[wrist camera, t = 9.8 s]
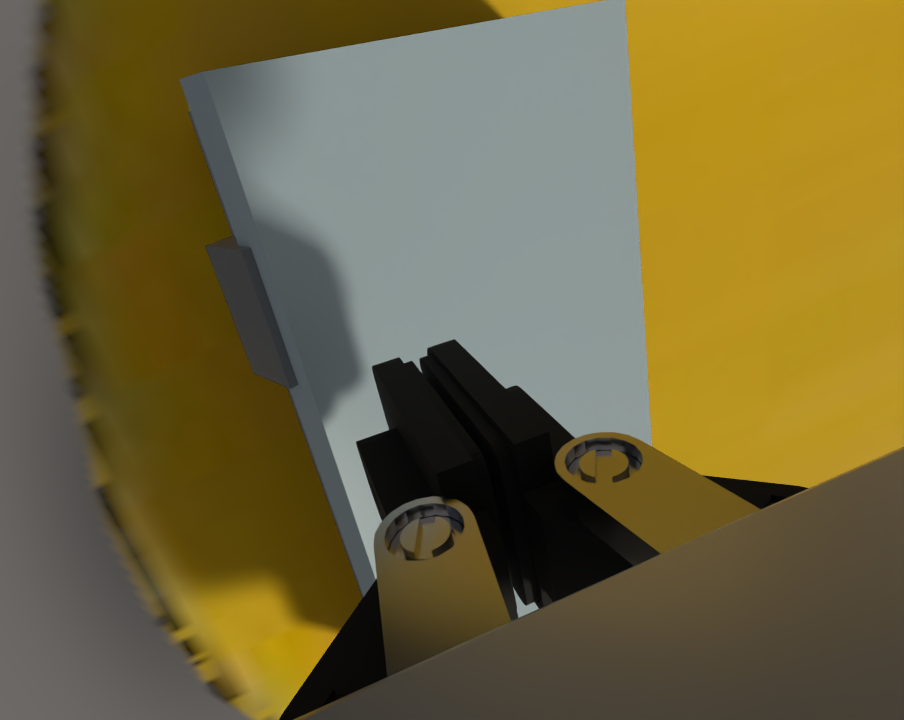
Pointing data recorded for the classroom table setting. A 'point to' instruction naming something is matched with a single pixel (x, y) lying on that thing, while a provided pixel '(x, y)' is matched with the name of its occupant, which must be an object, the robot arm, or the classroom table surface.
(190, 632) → the classroom table surface
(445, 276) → the grey flat panel
